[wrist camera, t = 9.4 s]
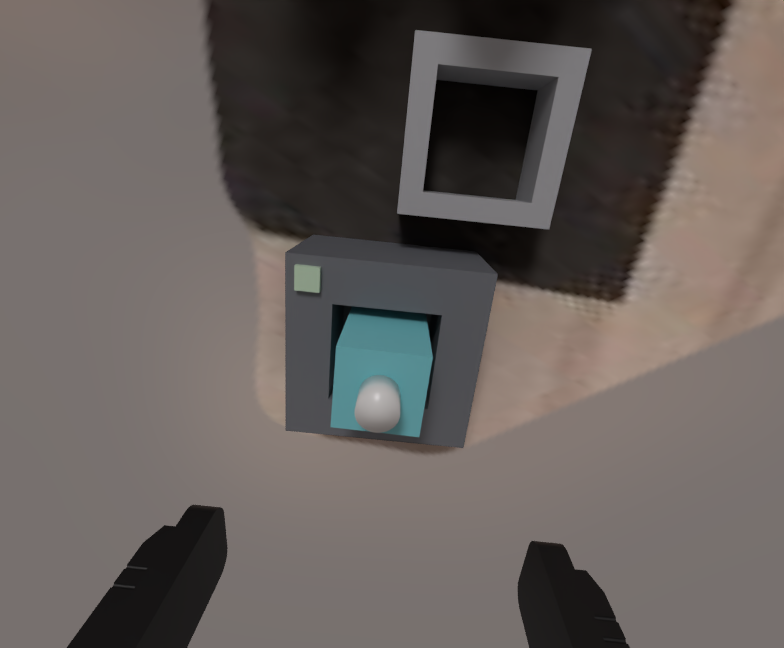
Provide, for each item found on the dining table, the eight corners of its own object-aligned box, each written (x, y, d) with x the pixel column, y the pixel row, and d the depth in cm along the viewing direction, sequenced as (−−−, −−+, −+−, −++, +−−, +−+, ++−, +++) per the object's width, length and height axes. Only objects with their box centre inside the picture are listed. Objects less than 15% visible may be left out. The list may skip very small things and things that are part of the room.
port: (475, 251, 24) (499, 275, 18) (451, 392, 27) (464, 451, 21) (313, 234, 24) (283, 253, 18) (309, 378, 27) (284, 433, 21)
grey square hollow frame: (565, 66, 20) (591, 48, 17) (531, 223, 23) (548, 229, 20) (413, 50, 20) (415, 29, 17) (397, 209, 23) (397, 213, 20)
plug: (423, 299, 23) (435, 374, 15) (414, 358, 25) (420, 460, 16) (357, 291, 23) (329, 362, 14) (352, 351, 25) (324, 449, 16)
